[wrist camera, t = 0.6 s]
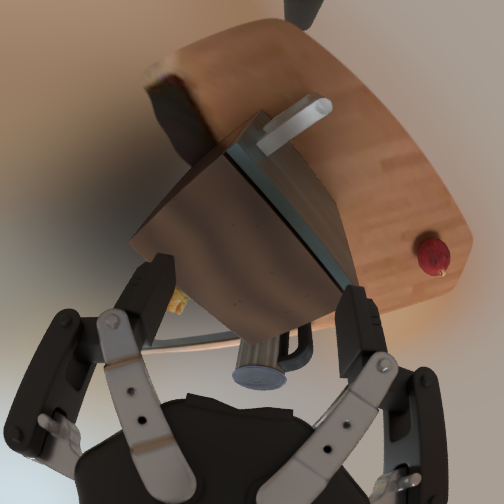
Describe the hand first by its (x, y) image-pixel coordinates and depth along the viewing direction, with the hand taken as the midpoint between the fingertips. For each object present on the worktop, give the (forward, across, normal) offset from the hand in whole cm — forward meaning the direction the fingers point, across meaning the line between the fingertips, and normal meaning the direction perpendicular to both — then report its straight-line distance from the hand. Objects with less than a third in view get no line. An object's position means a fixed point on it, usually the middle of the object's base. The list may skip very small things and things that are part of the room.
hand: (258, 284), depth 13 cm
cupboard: (+27, +2, +7) cm, 28 cm away
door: (+27, -5, 0) cm, 28 cm away
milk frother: (+27, -2, +30) cm, 40 cm away
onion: (+27, -28, +11) cm, 41 cm away
